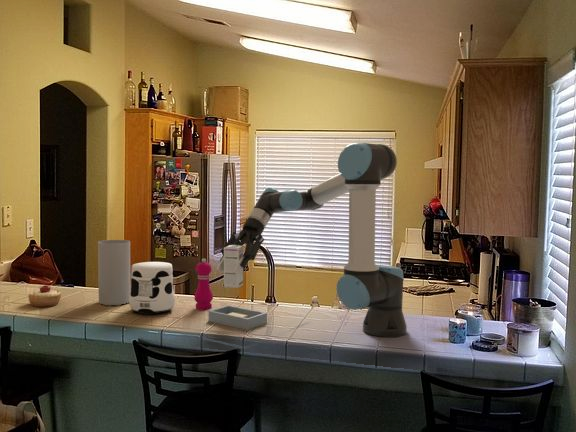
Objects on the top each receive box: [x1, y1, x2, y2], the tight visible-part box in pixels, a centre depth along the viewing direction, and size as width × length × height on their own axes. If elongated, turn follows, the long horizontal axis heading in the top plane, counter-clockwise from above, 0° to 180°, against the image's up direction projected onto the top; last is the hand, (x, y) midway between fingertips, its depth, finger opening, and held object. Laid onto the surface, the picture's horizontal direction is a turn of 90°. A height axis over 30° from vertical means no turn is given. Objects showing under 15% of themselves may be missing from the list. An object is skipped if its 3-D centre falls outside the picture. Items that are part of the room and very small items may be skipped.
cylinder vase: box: [97, 239, 131, 306], centre depth 239 cm, size 12×12×25 cm
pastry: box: [27, 283, 62, 308], centre depth 235 cm, size 12×12×9 cm
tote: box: [208, 304, 268, 331], centre depth 211 cm, size 18×11×4 cm, turn 56°
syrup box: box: [223, 245, 244, 289], centre depth 212 cm, size 6×6×14 cm
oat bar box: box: [229, 312, 248, 318], centre depth 211 cm, size 7×4×2 cm, turn 56°
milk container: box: [128, 261, 176, 315], centre depth 227 cm, size 17×17×18 cm
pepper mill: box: [194, 258, 214, 311], centre depth 232 cm, size 7×7×20 cm
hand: (227, 272), depth 209 cm, fingers closed on syrup box, 7 cm apart
